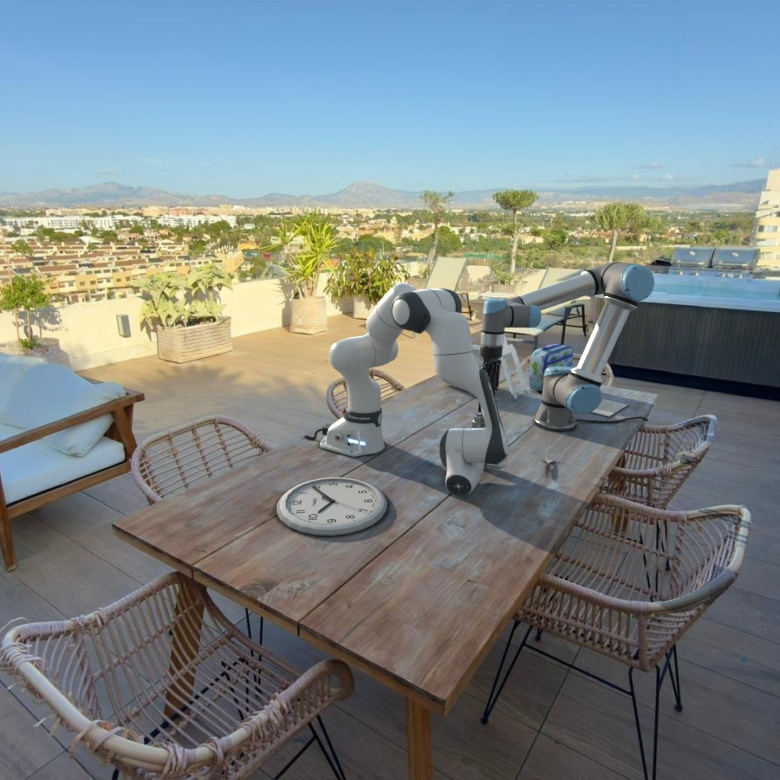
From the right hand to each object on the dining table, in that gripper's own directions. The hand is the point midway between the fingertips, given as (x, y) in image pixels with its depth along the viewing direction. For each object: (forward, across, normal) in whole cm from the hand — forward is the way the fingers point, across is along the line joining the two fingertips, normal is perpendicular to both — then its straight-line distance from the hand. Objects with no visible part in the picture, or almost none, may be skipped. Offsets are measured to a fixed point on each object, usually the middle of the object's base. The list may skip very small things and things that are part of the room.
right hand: (485, 410), depth 183 cm
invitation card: (+11, -68, +23) cm, 72 cm away
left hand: (+6, +17, +6) cm, 19 cm away
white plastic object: (+12, -53, -28) cm, 61 cm away
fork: (+12, +5, +26) cm, 29 cm away
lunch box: (+12, -80, -4) cm, 81 cm away
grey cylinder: (+12, +18, +7) cm, 23 cm away
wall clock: (+13, +66, -13) cm, 68 cm away
